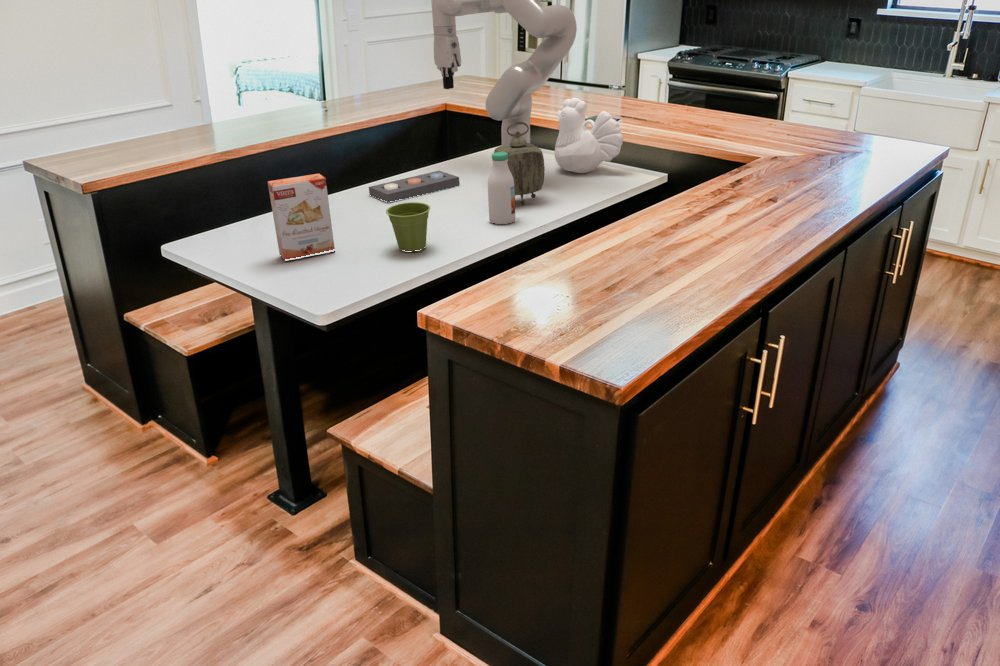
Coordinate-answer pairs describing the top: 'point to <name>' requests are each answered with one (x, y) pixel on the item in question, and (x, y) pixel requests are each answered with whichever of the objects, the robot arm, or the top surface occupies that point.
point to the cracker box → (301, 215)
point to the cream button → (391, 186)
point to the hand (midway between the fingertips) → (448, 88)
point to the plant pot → (409, 224)
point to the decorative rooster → (585, 138)
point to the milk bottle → (501, 191)
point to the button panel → (414, 187)
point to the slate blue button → (436, 175)
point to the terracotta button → (414, 181)
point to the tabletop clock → (524, 164)
